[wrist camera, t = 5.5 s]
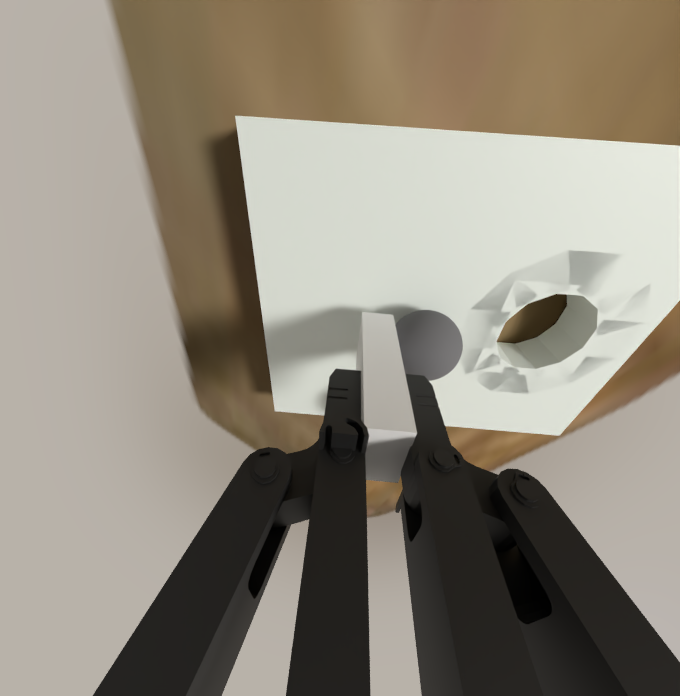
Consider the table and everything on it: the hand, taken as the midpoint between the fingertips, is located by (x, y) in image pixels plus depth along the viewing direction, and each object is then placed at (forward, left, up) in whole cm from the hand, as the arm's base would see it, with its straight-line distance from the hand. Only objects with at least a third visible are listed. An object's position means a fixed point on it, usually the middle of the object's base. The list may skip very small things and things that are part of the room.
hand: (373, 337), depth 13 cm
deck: (0, +4, -4) cm, 6 cm away
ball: (0, +2, 0) cm, 2 cm away
